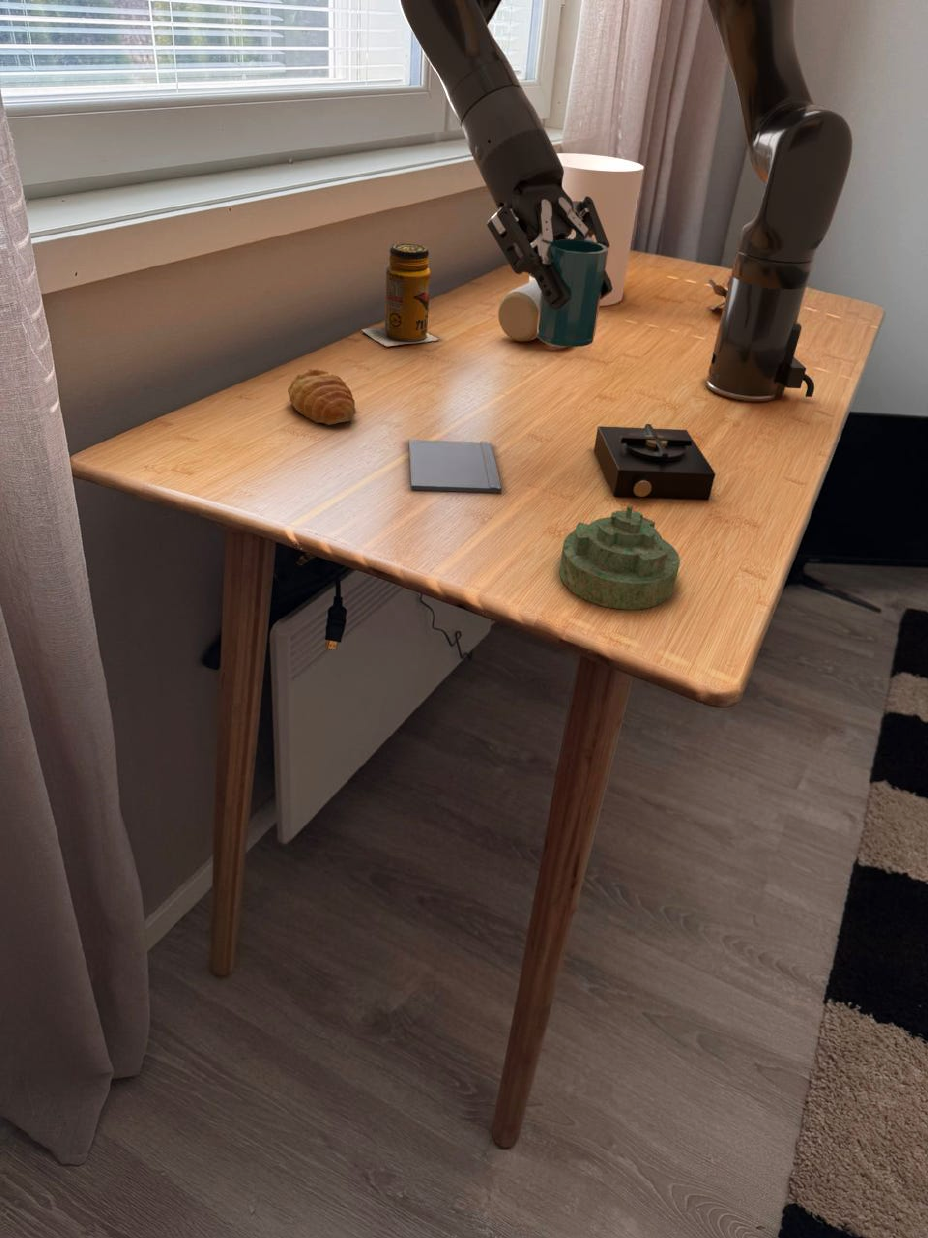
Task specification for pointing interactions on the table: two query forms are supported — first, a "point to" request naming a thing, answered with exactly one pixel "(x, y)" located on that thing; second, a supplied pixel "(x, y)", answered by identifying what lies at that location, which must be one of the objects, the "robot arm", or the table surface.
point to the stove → (653, 463)
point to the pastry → (322, 397)
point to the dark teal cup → (574, 293)
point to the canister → (607, 206)
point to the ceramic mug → (522, 313)
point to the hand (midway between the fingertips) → (583, 299)
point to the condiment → (405, 297)
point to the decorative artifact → (619, 562)
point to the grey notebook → (453, 466)
